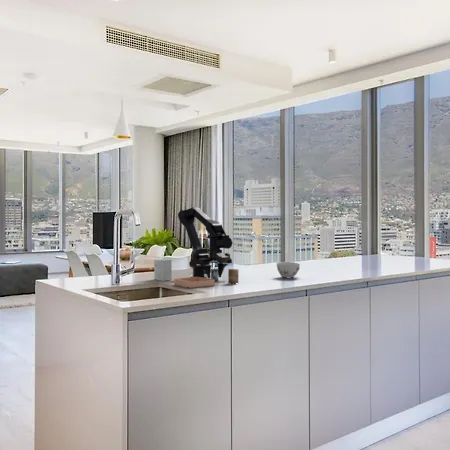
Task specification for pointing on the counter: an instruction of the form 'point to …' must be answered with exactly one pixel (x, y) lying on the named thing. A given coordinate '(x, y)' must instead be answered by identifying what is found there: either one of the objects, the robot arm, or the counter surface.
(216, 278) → the steel peg
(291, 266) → the teacup
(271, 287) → the counter surface
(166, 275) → the small box
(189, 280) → the shallow square tray
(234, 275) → the walnut knob
